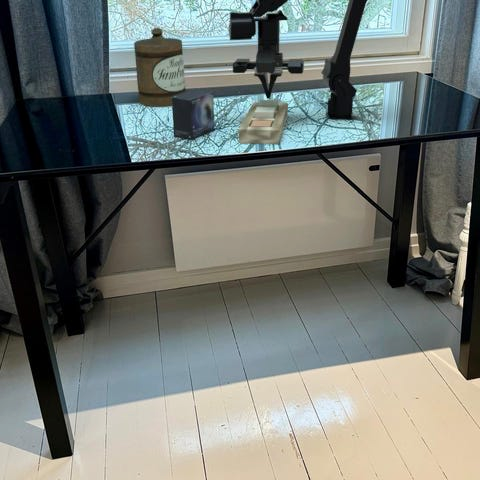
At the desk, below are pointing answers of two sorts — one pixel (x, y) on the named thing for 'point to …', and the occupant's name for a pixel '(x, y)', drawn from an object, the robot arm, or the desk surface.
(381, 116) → the desk surface
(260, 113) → the key ivory
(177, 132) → the small box
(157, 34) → the wooden container
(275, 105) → the key sage
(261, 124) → the key terracotta
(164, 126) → the desk surface
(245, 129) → the keypad housing
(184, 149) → the desk surface
